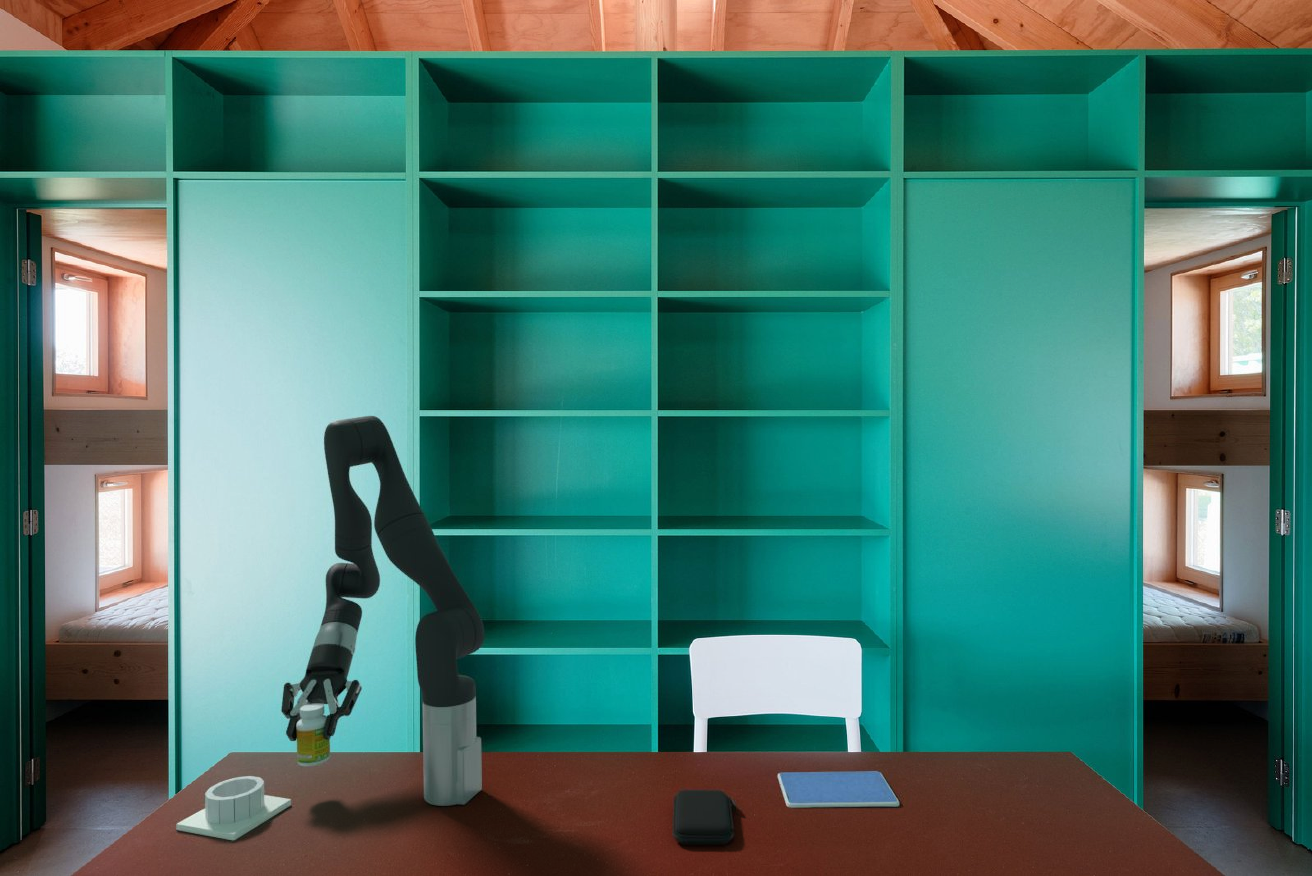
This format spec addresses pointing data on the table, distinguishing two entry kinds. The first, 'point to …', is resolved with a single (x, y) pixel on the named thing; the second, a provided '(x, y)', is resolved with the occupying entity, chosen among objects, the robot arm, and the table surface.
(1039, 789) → the table surface
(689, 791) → the carrying case or bag
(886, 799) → the tablet computer
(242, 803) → the sleeve holder
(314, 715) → the supplement bottle
